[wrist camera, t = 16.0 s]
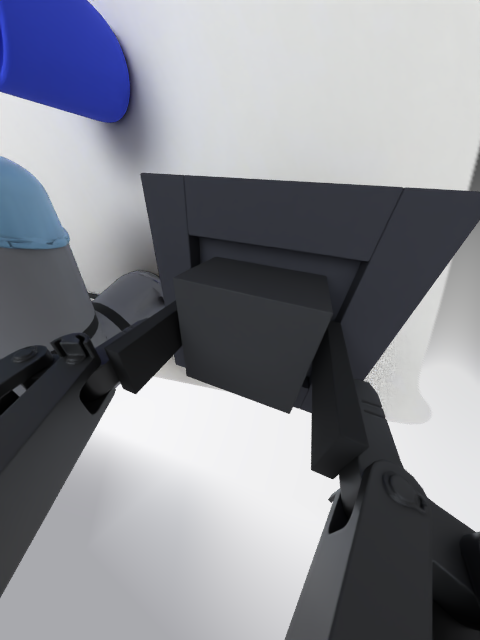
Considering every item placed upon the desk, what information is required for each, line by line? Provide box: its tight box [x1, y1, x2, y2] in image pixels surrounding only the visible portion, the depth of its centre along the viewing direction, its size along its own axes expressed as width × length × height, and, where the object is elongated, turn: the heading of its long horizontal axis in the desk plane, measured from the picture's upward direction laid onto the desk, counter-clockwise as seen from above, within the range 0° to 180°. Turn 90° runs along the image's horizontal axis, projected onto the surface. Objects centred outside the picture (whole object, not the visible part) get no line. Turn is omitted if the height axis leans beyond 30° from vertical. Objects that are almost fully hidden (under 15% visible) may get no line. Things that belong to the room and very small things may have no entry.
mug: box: [0, 0, 130, 123], centre depth 14 cm, size 8×12×10 cm
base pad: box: [141, 173, 480, 413], centre depth 13 cm, size 15×15×2 cm
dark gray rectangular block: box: [173, 257, 333, 414], centre depth 11 cm, size 7×7×4 cm
